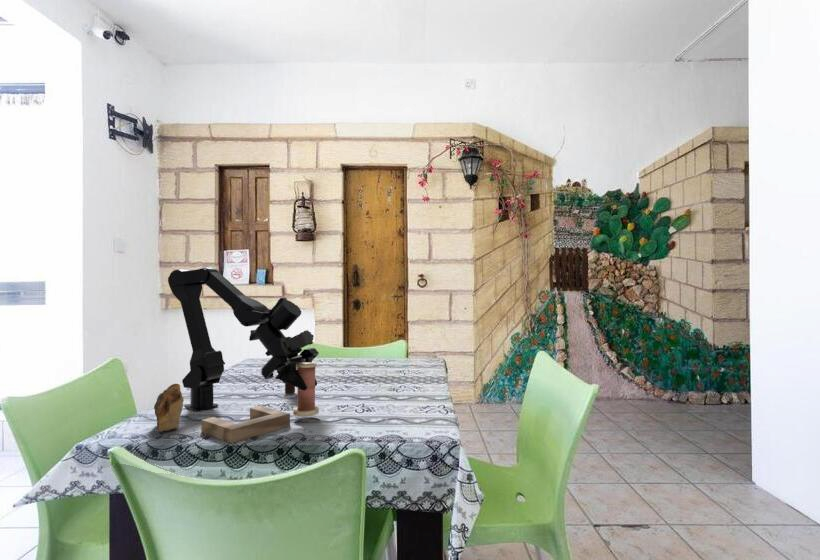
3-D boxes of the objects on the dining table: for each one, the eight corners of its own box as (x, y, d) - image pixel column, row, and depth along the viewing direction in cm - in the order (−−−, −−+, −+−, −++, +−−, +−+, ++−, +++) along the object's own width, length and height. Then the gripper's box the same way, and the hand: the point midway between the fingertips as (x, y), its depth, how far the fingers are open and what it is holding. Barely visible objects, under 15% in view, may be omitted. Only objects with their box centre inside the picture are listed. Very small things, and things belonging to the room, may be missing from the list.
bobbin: (287, 413, 121) (288, 364, 121) (307, 408, 126) (307, 361, 126) (304, 417, 117) (305, 367, 117) (324, 412, 123) (324, 363, 123)
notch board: (201, 432, 111) (201, 419, 111) (259, 417, 124) (260, 405, 124) (231, 443, 104) (231, 429, 104) (289, 425, 116) (290, 413, 116)
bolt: (293, 395, 147) (293, 347, 147) (278, 395, 148) (278, 346, 148) (301, 391, 153) (301, 344, 153) (286, 390, 154) (287, 344, 154)
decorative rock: (184, 433, 110) (185, 387, 110) (155, 437, 107) (155, 389, 107) (180, 420, 121) (180, 378, 121) (153, 424, 118) (153, 380, 118)
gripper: (272, 324, 114) (311, 373, 111) (313, 318, 132) (348, 361, 128) (244, 354, 117) (282, 403, 113) (288, 345, 135) (322, 387, 131)
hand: (311, 387), depth 121 cm, fingers closed on bobbin, 4 cm apart
